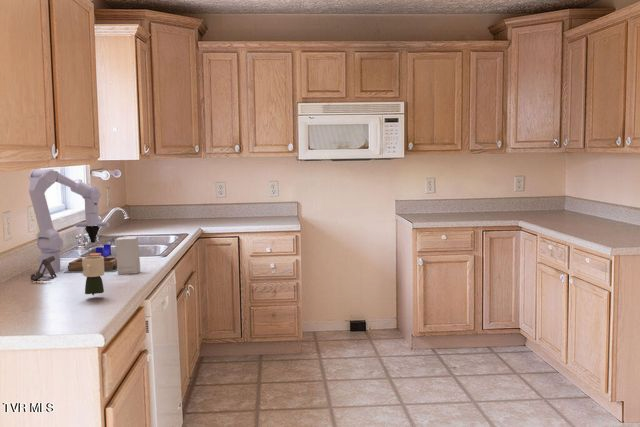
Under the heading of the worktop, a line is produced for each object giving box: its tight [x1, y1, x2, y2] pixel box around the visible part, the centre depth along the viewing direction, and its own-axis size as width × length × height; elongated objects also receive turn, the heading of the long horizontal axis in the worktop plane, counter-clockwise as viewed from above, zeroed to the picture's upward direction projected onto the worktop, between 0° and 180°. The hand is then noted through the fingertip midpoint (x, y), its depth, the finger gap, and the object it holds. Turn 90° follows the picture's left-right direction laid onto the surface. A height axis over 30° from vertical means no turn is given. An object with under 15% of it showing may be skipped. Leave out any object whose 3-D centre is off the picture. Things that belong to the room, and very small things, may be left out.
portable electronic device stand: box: [30, 256, 58, 282], centre depth 244 cm, size 9×8×8 cm
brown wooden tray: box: [67, 256, 117, 271], centre depth 264 cm, size 14×20×3 cm
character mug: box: [81, 256, 105, 296], centre depth 212 cm, size 11×7×13 cm, turn 0°
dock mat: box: [63, 269, 118, 274], centre depth 264 cm, size 16×21×1 cm
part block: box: [88, 252, 101, 257], centre depth 264 cm, size 4×4×5 cm
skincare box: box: [114, 236, 141, 275], centre depth 253 cm, size 8×6×15 cm
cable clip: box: [95, 243, 112, 257], centre depth 295 cm, size 12×4×6 cm, turn 0°
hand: (93, 242), depth 280 cm, fingers closed
